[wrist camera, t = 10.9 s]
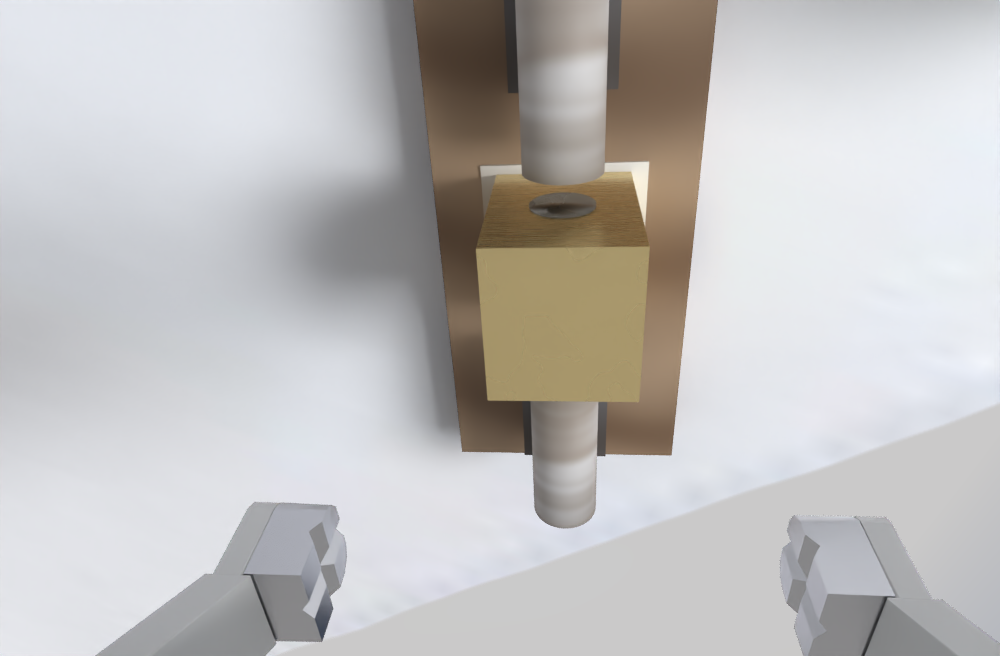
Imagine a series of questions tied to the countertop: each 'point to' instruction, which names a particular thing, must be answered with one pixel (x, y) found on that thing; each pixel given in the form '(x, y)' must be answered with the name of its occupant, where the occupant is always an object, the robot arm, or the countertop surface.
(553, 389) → the block
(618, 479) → the countertop surface
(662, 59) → the shaft mount
